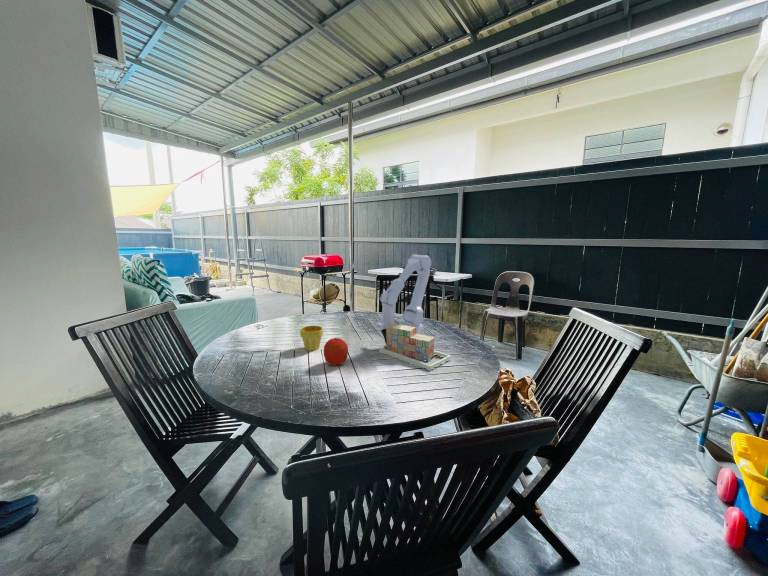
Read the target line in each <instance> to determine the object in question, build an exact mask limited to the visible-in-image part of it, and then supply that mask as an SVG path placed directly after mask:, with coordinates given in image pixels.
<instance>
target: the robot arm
mask: <svg viewBox="0 0 768 576" xmlns="http://www.w3.org/2000/svg"><path fill="white" fill-rule="evenodd" d="M431 266H432V259H431V257H430V256H429V255H426V254H425V255H422V254H415V253H413V254H411V256H409V258H408V259H407V263H406V266H405V267H404V269H403V271H402V272H401V274H400V275H399V277H398V278H395V279H392V281H391V284H390V285H389V286H388V288H387V289H386V291H384V292H382V293H381V295H380V297H379V301H380V302H381V306H382V308H381V309H382V312H381V313H382V317H381V321H382V322H376V323H375V327H376V328H381V330H380V333H381V334H382V336H383V338H384V339H383V340H384V343H385V345H387V339H386V333H387V332H386V327H387V326H389V325H391V324H393V323H395V305H396V303H397V302H398V298H399V295H400V294H401V292H402V291H403V289H404V288H405V282H406V281H407V280H408V279H409V278H410V276H411V275H412V274H413V272H416V273H417V279H416V281H415V285H414V289H413V293H412V296H411V301H410V304H408V305H407V306H406V307H405V310H404V311H403V313H402V320H403V321H404V323H405V325H406V326H411V327H416V334H420V335H424V325H423V324H422V323H423V320H424V310H423V308H422V303H423V300H424V295H425V293H426V288H427V285H428V281H429V278H430V273H431V270H430V269H431Z"/></svg>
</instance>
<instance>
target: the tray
mask: <svg viewBox="0 0 768 576" xmlns="http://www.w3.org/2000/svg"><path fill="white" fill-rule="evenodd" d="M378 352H379V353H381V354H383V353H384V355H386V354H387V355H386V356H389V355H390V356H389V357H391V356H392V357H391V358H394V357H395V359H397V358H398V360H400V361H402V360H403V362H405V361H406V362H405V363H408V362H409V363H408V364H410V363H412V364H411V365H413V364H414V365H413V366H416V365H417V366H416V367H418V366H420V367H419V368H421V367H423V368H422V369H424V368H426V369H429V370H431V369H433V368H434V367H436V366H438V365H440V364H441V363H443V362H445V361H447V360H449V359H451V360H452V355H451V354H448V353H444V352H441V351H438V350H435V349H434V354H436V355H439V356H443V357H445V358H440V359H439V360H438V361H435V362H434V363H433V362H432V363H431V364H428V363H426V362H423V361H421V360H418V359H415V358H412V357H407V356H403V355H400V354H398V353H395V352H392V351H389V350H387V348H383V347H378ZM440 366H441V365H440ZM426 369H425V370H426ZM429 370H428V371H429ZM433 370H434V369H433ZM431 371H432V370H431Z"/></svg>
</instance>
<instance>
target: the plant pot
mask: <svg viewBox="0 0 768 576" xmlns="http://www.w3.org/2000/svg"><path fill="white" fill-rule="evenodd" d="M299 331H300V333H299V334H300V337H301V338H302V342H303V345H304V349H305V350H306V351H308V350H309V352H310V351H312V350H313V351H317V350H319V349H320V345H321V340H322V336H323V335H324V328H323V326H321V325H314V324H312V325H305V326H303V327H301V328H300V329H299Z"/></svg>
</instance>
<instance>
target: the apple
mask: <svg viewBox="0 0 768 576" xmlns="http://www.w3.org/2000/svg"><path fill="white" fill-rule="evenodd" d="M348 355H349V346H348V344H347V342H346V341H345V340H344V339H342V338H339V337H333V338H330V339H329V340H327V341H326V342H325V344H324V346H323V357H324V360H325V362H326V363H328V364H329V365H331V366H339V365H342V364H343V363H344V362H346V361H347V359H348Z"/></svg>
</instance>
